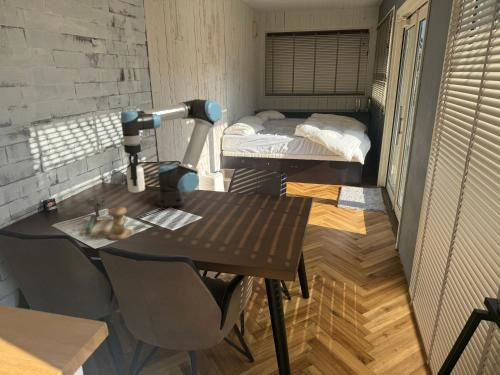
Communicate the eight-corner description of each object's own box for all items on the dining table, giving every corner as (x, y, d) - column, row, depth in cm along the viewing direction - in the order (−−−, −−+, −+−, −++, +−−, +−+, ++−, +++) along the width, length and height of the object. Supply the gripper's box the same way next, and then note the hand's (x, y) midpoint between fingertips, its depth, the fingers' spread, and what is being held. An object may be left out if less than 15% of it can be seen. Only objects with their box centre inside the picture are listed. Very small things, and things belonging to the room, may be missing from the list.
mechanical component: (104, 218, 184) (102, 200, 181) (87, 216, 186) (84, 199, 183) (107, 216, 187) (105, 198, 184) (90, 214, 189) (88, 197, 186)
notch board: (124, 220, 182) (123, 212, 180) (120, 232, 167) (120, 224, 166) (91, 222, 178) (90, 215, 177) (85, 236, 163) (84, 227, 162)
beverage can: (135, 194, 167) (133, 170, 164) (124, 191, 172) (122, 167, 168) (148, 189, 174) (146, 166, 170) (137, 187, 178) (135, 164, 174)
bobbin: (132, 230, 170) (129, 205, 166) (130, 239, 161) (127, 213, 157) (110, 232, 168) (107, 207, 164) (107, 241, 158) (104, 214, 154)
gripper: (126, 140, 174) (130, 183, 181) (121, 148, 155) (126, 196, 162) (141, 139, 176) (145, 182, 183) (138, 147, 157) (143, 195, 164)
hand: (136, 189), depth 172 cm, fingers closed on beverage can, 8 cm apart
